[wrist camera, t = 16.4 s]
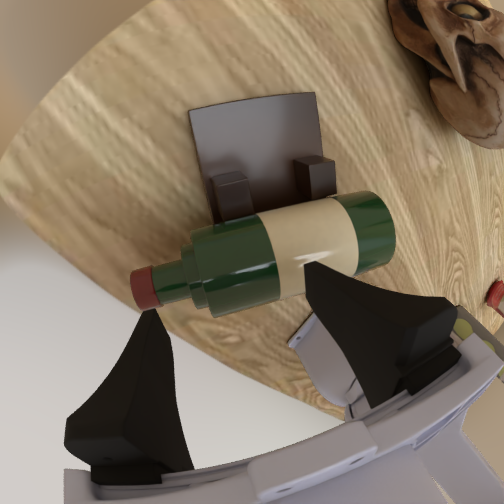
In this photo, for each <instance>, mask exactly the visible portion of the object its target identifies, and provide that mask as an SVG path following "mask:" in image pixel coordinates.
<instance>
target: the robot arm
mask: <svg viewBox="0 0 504 504" xmlns="http://www.w3.org/2000/svg"><path fill="white" fill-rule="evenodd" d="M304 278H305V292H306V299H307V300H308V302H309V304H310V306H311V308H312V310H313V311H314V312H313V314H312V315H311V316H310V317H309V318H308V320H307V321H306V322H305V323H304V324H303V325H302V327H301V328H300V329H299V330H298V331H297V332H296V333H295V335H294V336H293V337H292V338H291V339H290V340H289V341H288V346H289V347H291V348H294V349H295V351H296V353H297V355H298V357H299V359H300V360H301V362H302V364H303V366H304V368H305V370H306V372H307V373H308V375H309V377H310V379H311V381H312V383H313V384H314V386H315V388H316V389H317V390H318V392H319V393H320V394H321V395H322V396H323V397H324V398H325V399H327V400H328V401H329V402H331V403H333V404H335V405H337V406H342V407H344V406H346V407H345V423H343V424H341V425H339V426H337V427H334V428H332V429H330V430H327V431H325V432H323V433H321V434H318V435H316V436H313V437H311V438H308V439H305V440H303V441H300V442H297V443H295V444H292V445H289V446H286V447H283V448H281V449H277V450H274V451H271V452H268V453H265V454H261V455H258V456H255V457H251V458H247V459H243V460H240V461H235V462H231V463H227V464H222V465H218V466H213V467H208V468H202V469H197V470H195V469H194V466H193V463H192V460H191V458H190V455H189V451H188V448H187V445H186V441H185V438H184V434H183V430H182V426H181V422H180V417H179V412H178V408H177V402H176V392H175V377H174V359H173V351H172V346H171V340H170V337H169V335H168V333H167V331H166V329H165V327H164V325H163V323H162V321H161V319H160V317H159V315H158V313H157V311H156V309H155V308H153V309H149V310H146V311H143V313H142V314H141V316H140V319H139V321H138V323H137V325H136V327H135V329H134V331H133V333H132V335H131V337H130V339H129V341H128V343H127V345H126V347H125V349H124V351H123V352H122V354H121V356H120V358H119V360H118V361H117V363H116V364H115V366H114V367H113V369H112V370H111V372H110V373H109V375H108V376H107V377H106V379H105V380H104V381H103V383H102V384H101V385H100V386H99V387H98V389H97V390H96V391H95V392H94V393H93V395H92V396H91V397H90V398H89V399H88V400H87V401H86V402H85V403H84V404H83V405H82V406H81V407H80V408H78V409H77V410H76V411H75V412H74V413H73V414H71V415H70V416H69V417H68V418H67V421H66V428H65V437H64V446H65V448H66V449H67V450H68V451H69V452H70V453H71V454H73V455H74V456H75V457H77V458H79V459H80V460H82V461H84V462H85V463H87V464H89V465H90V466H91V472H90V471H86V470H77V469H64V504H448V502H447V500H446V499H445V497H444V496H443V494H442V493H441V491H440V489H439V488H438V486H437V485H436V483H435V482H434V480H435V481H436V482H437V483H438V484H439V485H440V486H441V488H442V489H443V490H444V491H445V492H446V493H447V494H448V495H449V497H450V498H451V499H452V500H453V501H454V502H455V503H456V504H504V482H503V481H502V480H501V478H500V477H499V476H498V474H497V473H496V472H495V470H494V469H493V468H492V466H491V465H490V464H489V463H488V461H487V460H486V459H485V458H484V456H483V455H482V454H481V453H480V451H479V450H478V449H477V448H476V446H475V445H474V444H473V443H472V441H471V440H470V439H469V438H468V437H467V436H466V434H465V433H464V432H463V430H462V425H463V422H464V419H465V416H466V413H467V410H468V408H469V407H470V406H471V405H472V404H473V403H474V402H475V401H476V400H477V399H478V398H479V397H480V396H481V395H482V394H483V393H484V391H485V390H486V389H487V388H488V386H489V385H490V384H491V382H492V381H493V380H494V378H495V377H496V376H497V374H498V373H499V372H500V370H501V369H502V367H503V366H504V362H503V361H502V360H501V359H500V358H499V357H498V356H497V355H496V354H495V353H494V352H493V351H492V350H491V349H490V348H489V347H488V346H487V345H486V344H485V343H484V342H483V341H482V340H481V339H480V338H479V337H478V336H477V335H476V334H475V333H472V334H471V335H470V336H468V337H467V338H466V339H465V340H464V341H462V342H461V343H460V344H459V345H458V346H457V348H455V347H454V346H453V345H452V344H453V343H454V340H453V339H452V338H451V337H450V334H451V332H452V330H453V327H454V325H455V322H456V319H457V315H458V310H457V308H456V307H455V306H454V305H453V304H452V303H451V302H450V301H448V300H447V299H446V298H445V297H428V296H417V295H409V294H403V293H398V292H394V291H389V290H385V289H382V288H379V287H375V286H372V285H369V284H366V283H364V282H361V281H359V280H356V279H354V278H351V277H349V276H347V275H345V274H343V273H340V272H338V271H336V270H334V269H332V268H330V267H328V266H326V265H324V264H322V263H319V262H317V261H312V262H309V263H306V264H304ZM431 476H432V477H433V478H434V480H433V478H432V477H431Z"/></svg>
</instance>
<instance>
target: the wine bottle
mask: <svg viewBox="0 0 504 504" xmlns="http://www.w3.org/2000/svg"><path fill="white" fill-rule="evenodd" d="M190 234H191V241H192V243H189V244H185V245H182V246H181V249H180V251H181V259H180V260H176V261H173V262H169V263H165V264H161V265H158V266H152V265H151V266H147V267H144V268H140V269H136V270H133V271H132V272H131V275H130V284H131V290H132V294H133V297H134V300H135V302H136V304H137V306H138V307H139V309H140V310H141V311H146V310H149V309H153V308H159V307H163V306H164V304H168V303H172V302H176V301H180V300H184V299H188V298H192V300H193V302H194V305H195V307H196V308H197V309H203V308H207V307H209V309H210V312H211V314H212V316H213V318H218V317H222V316H226V315H229V314H233V313H237V312H240V311H244V310H248V309H251V308H255V307H258V306H262V305H265V304H269V303H272V302H275V301H280V300H284V299H287V298H290V297H294V296H297V295H300V294H303V293H306V292H305V278H304V264H306V263H309V262H312V261H317V262H319V263H322V264H324V265H326V266H328V267H330V268H332V269H334V270H336V271H338V272H340V273H343V274H345V275H347V276H349V277H354V276H357V275H360V274H362V273H365V272H368V271H371V270H374V269H377V268H379V267H382V266H385V265H386V264H388V263H389V262H390V260H391V259H392V257H393V254H394V251H395V245H396V235H395V227H394V223H393V220H392V217H391V214H390V212H389V210H388V208H387V206H386V205H385V203H384V202H383V201H382V199H381V198H380V197H379V196H377V195H376V194H375V193H373V192H371V191H359V192H354V193H349V194H344V195H339V196H334V197H327V198H322V199H318V200H313V201H308V202H304V203H299V204H294V205H290V206H286V207H281V208H277V209H272V210H268V211H264V212H259V213H256V214H253V215H249V216H245V217H241V218H236V219H232V220H228V221H224V222H220V223H216V224H212V225H208V226H204V227H200V228H197V229H193V230H191V232H190Z"/></svg>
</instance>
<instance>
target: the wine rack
mask: <svg viewBox="0 0 504 504" xmlns="http://www.w3.org/2000/svg"><path fill="white" fill-rule="evenodd" d="M188 116H189V121H190V126H191V131H192V135H193V140H194V144H195V149H196V153H197V158H198V162H199V166H200V171H201V175H202V179H203V184H204V188H205V192H206V196H207V200H208V205H209V209H210V213H211V217H212V221H213V224H216V223H220V222H224V221H228V220H232V219H236V218H241V217H245V216H249V215H253V214H256V213H259V212H264V211H268V210H272V209H277V208H281V207H286V206H290V205H294V204H299V203H304V202H308V201H313V200H318V199H322V198H326V196H329V195H334V194H337V187H336V172H335V161H334V160H331V159H328V158H325V157H323V151H322V141H321V133H320V124H319V116H318V109H317V102H316V95H315V92H304V93H292V94H282V95H273V96H265V97H257V98H250V99H244V100H238V101H232V102H226V103H221V104H216V105H211V106H206V107H202V108H197V109H193V110H189V111H188Z"/></svg>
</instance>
